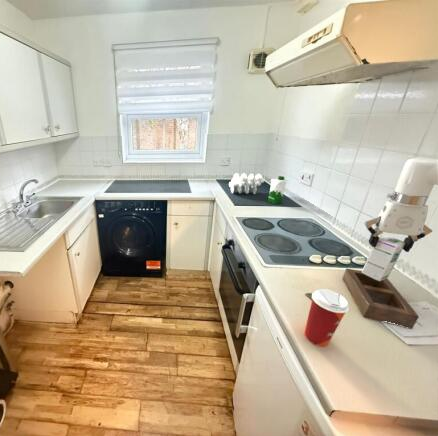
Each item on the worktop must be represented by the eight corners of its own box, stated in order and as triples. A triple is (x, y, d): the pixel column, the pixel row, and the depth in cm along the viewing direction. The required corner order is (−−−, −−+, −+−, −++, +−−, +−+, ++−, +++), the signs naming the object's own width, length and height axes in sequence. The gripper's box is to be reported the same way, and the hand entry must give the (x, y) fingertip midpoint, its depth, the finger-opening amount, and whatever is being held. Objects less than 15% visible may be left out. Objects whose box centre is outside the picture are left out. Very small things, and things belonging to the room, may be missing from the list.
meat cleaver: (319, 295, 87) (303, 292, 88) (320, 292, 86) (304, 289, 88) (330, 317, 76) (311, 314, 78) (330, 314, 76) (312, 311, 78)
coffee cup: (337, 354, 65) (356, 312, 59) (303, 344, 68) (317, 304, 62) (327, 330, 72) (343, 291, 66) (297, 323, 75) (309, 284, 69)
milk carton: (283, 203, 180) (289, 177, 173) (274, 205, 177) (280, 178, 169) (273, 200, 188) (278, 175, 180) (265, 201, 184) (270, 176, 177)
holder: (379, 285, 91) (384, 275, 90) (412, 328, 73) (419, 316, 71) (342, 278, 96) (346, 268, 94) (363, 317, 77) (369, 305, 75)
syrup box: (379, 282, 82) (399, 245, 76) (360, 272, 87) (376, 237, 81) (387, 277, 84) (407, 242, 79) (368, 268, 89) (385, 234, 83)
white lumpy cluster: (227, 196, 211) (256, 195, 209) (232, 193, 194) (264, 192, 192) (226, 175, 212) (255, 174, 210) (232, 171, 194) (263, 169, 193)
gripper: (378, 199, 74) (360, 248, 81) (455, 205, 68) (429, 258, 75) (368, 193, 81) (352, 238, 87) (438, 198, 74) (415, 247, 81)
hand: (388, 247), depth 81 cm, fingers closed on syrup box, 8 cm apart
